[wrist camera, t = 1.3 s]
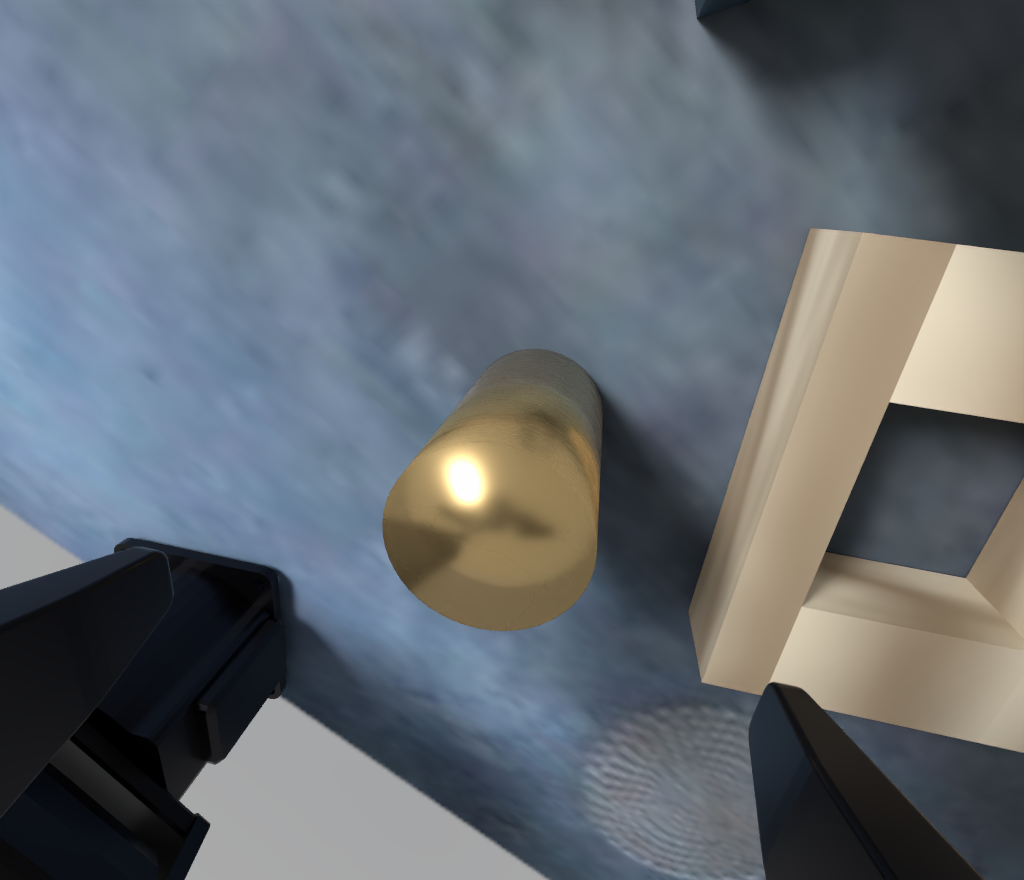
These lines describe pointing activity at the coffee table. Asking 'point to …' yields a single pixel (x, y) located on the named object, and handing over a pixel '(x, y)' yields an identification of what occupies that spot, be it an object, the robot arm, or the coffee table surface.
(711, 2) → the watch
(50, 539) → the coffee table surface
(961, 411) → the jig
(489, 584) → the brass cylinder plug
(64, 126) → the coffee table surface
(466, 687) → the coffee table surface
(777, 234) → the coffee table surface
